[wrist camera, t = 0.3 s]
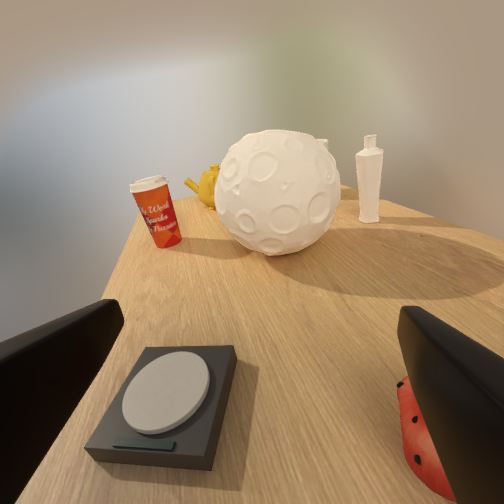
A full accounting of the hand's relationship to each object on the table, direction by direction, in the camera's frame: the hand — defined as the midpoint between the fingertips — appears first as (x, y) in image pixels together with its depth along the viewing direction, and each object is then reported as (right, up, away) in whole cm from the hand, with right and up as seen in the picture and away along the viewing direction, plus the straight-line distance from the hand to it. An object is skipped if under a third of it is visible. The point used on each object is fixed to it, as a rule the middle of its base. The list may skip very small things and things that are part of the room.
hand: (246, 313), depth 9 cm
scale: (-7, -12, +17) cm, 22 cm away
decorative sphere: (+6, +3, +40) cm, 40 cm away
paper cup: (-18, +4, +52) cm, 56 cm away
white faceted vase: (+23, +8, +44) cm, 50 cm away
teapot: (-9, +16, +72) cm, 74 cm away
